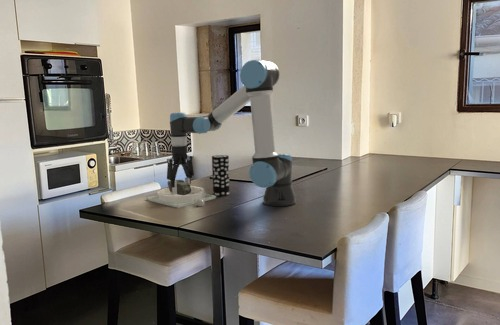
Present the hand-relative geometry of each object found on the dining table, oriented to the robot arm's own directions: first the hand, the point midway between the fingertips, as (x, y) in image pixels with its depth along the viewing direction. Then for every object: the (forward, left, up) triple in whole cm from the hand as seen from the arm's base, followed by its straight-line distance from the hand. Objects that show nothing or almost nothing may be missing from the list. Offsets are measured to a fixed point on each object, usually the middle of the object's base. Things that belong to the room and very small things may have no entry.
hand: (181, 192), depth 222 cm
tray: (0, 0, -4) cm, 4 cm away
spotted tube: (-8, -19, -4) cm, 21 cm away
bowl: (0, 0, -3) cm, 3 cm away
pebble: (-15, +3, -3) cm, 16 cm away
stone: (+1, 0, -1) cm, 1 cm away
